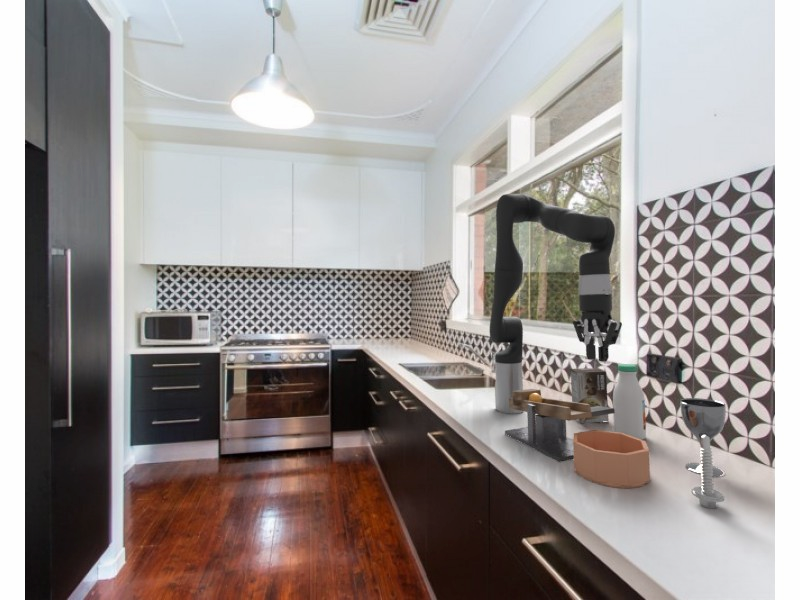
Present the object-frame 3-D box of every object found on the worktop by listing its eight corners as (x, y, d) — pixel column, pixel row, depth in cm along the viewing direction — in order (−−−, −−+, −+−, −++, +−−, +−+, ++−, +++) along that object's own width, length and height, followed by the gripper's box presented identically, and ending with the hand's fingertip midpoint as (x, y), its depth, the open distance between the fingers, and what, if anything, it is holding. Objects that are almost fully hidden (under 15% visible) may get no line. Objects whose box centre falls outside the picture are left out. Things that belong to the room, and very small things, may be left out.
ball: (527, 406, 110) (524, 394, 111) (537, 405, 111) (535, 392, 112) (535, 406, 107) (532, 393, 107) (546, 405, 108) (543, 391, 109)
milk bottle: (640, 443, 103) (637, 368, 103) (609, 436, 109) (607, 365, 109) (650, 436, 108) (647, 364, 108) (620, 430, 114) (617, 361, 114)
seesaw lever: (507, 408, 115) (505, 391, 115) (549, 402, 120) (547, 385, 120) (566, 421, 92) (563, 398, 93) (614, 413, 97) (611, 392, 98)
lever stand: (504, 434, 113) (503, 396, 113) (538, 428, 117) (537, 392, 117) (559, 462, 93) (557, 416, 93) (597, 454, 97) (596, 410, 97)
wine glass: (717, 481, 81) (714, 409, 81) (675, 467, 88) (672, 401, 88) (735, 472, 84) (732, 403, 85) (694, 459, 91) (691, 396, 92)
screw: (691, 506, 71) (692, 495, 75) (725, 515, 68) (724, 503, 72) (688, 435, 71) (689, 428, 75) (722, 441, 68) (722, 433, 72)
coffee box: (600, 417, 127) (598, 367, 127) (609, 423, 120) (607, 371, 120) (571, 417, 128) (569, 368, 128) (578, 423, 121) (576, 371, 121)
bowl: (560, 465, 90) (559, 435, 90) (607, 456, 95) (606, 427, 95) (613, 493, 77) (611, 458, 77) (664, 480, 82) (663, 447, 82)
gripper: (563, 294, 105) (565, 358, 104) (606, 292, 91) (609, 365, 91) (584, 293, 107) (587, 356, 107) (630, 291, 94) (632, 362, 94)
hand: (597, 359), depth 99 cm, fingers open, 3 cm apart
